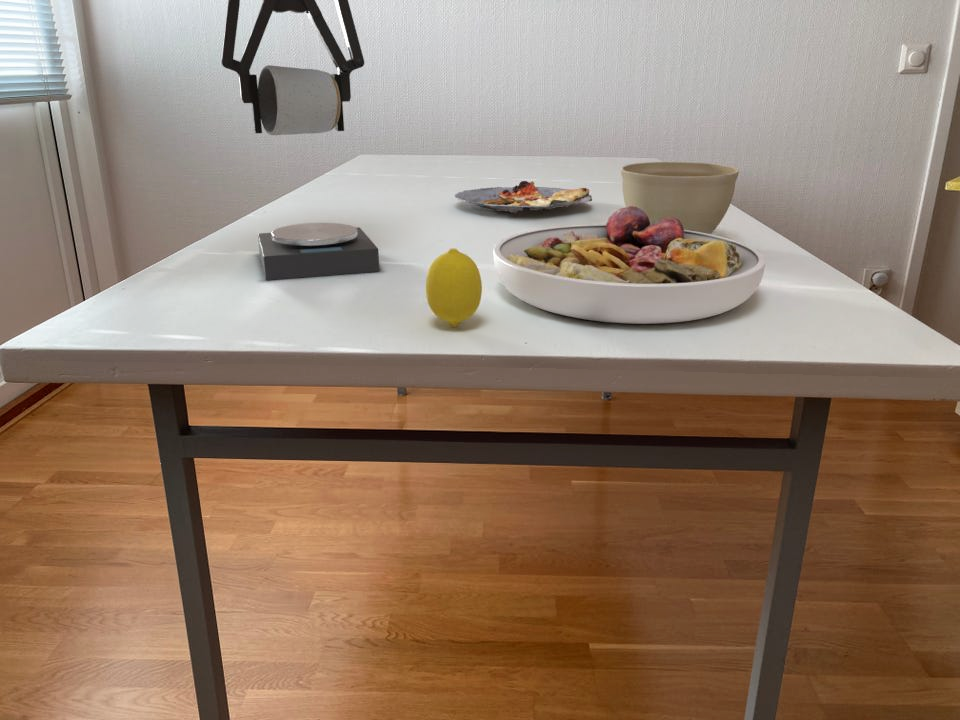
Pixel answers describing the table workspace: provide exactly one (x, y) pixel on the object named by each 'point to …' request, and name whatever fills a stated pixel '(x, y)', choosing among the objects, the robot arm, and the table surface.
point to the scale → (317, 258)
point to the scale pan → (314, 234)
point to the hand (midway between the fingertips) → (299, 131)
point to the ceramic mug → (297, 100)
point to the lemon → (453, 287)
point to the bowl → (628, 270)
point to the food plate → (524, 197)
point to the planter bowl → (681, 192)
